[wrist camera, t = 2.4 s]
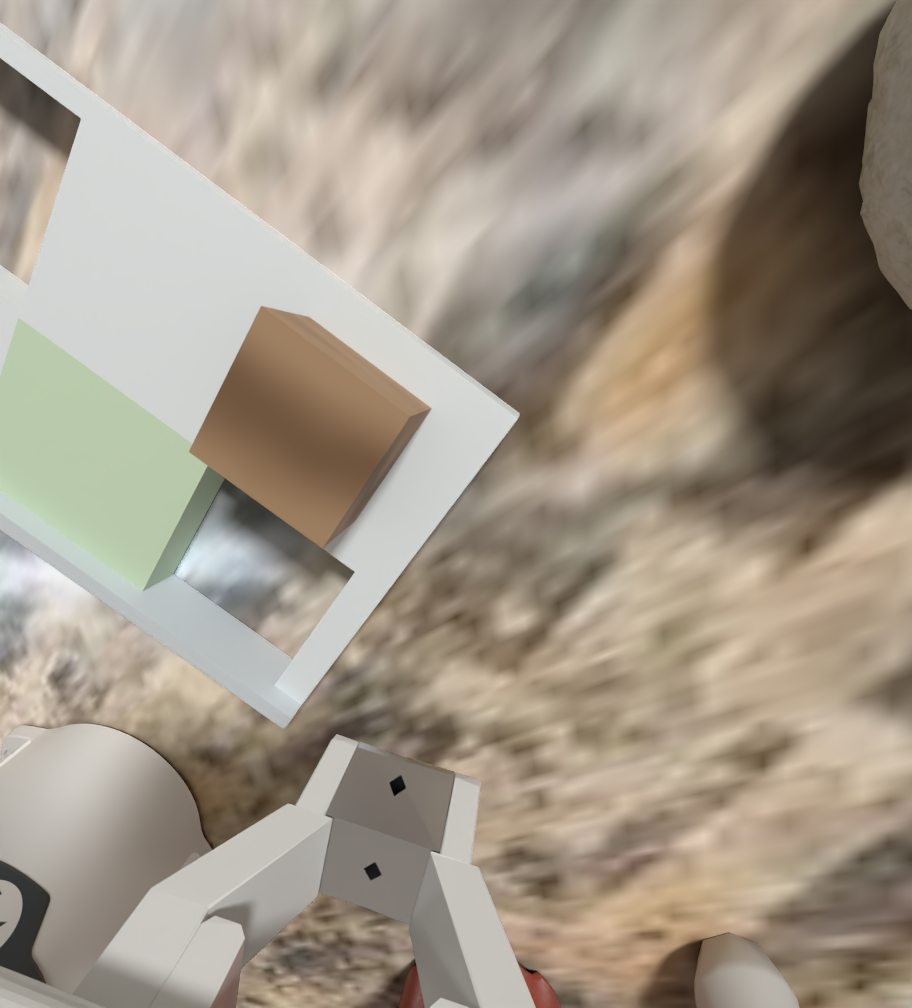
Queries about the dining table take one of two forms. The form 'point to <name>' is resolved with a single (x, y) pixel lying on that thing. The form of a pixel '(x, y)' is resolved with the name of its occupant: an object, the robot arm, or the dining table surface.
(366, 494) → the walnut block
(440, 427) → the board
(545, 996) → the flower pot
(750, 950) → the salt shaker
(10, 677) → the dining table surface
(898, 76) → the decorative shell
